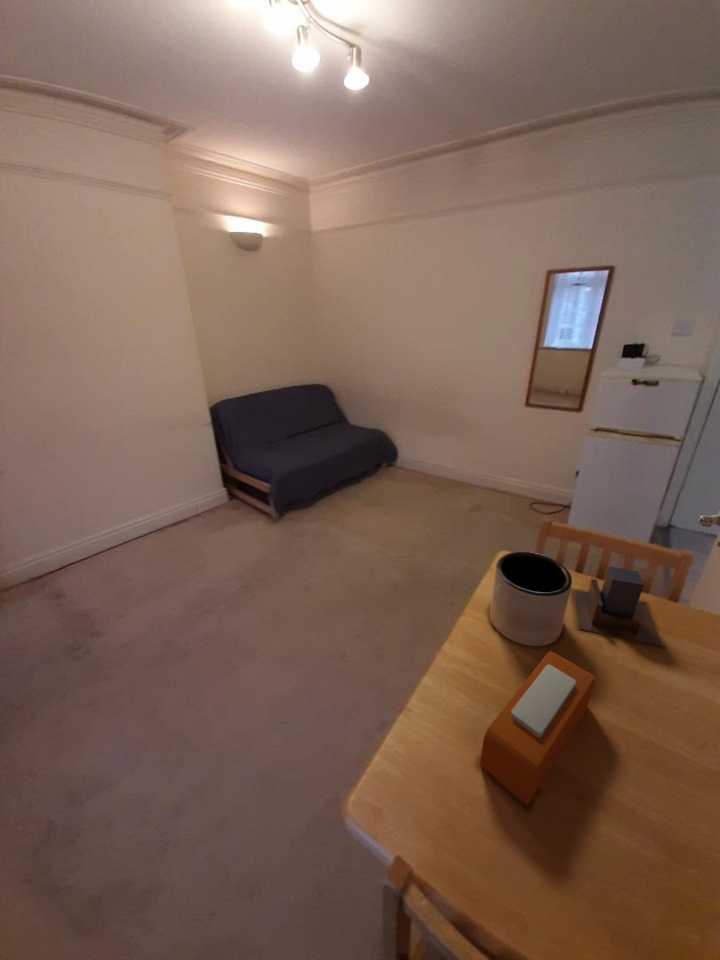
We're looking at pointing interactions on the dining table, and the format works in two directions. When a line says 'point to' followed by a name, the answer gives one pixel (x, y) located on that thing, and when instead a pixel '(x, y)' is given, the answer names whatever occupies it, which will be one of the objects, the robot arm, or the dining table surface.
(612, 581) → the dark grey block
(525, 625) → the planter
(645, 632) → the brown holder on base
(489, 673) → the dining table surface
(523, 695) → the alarm clock
